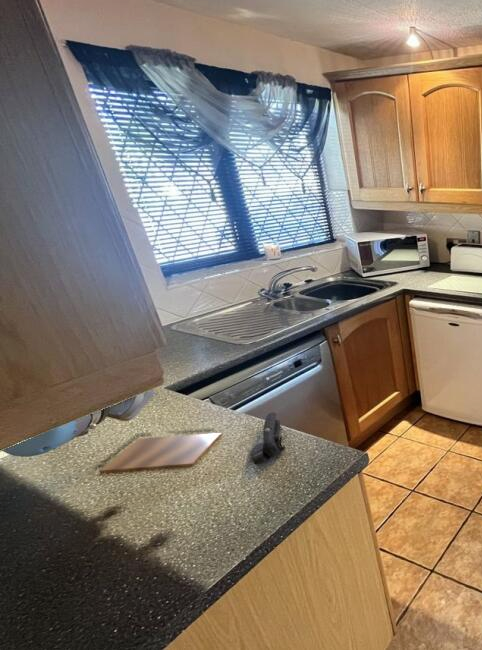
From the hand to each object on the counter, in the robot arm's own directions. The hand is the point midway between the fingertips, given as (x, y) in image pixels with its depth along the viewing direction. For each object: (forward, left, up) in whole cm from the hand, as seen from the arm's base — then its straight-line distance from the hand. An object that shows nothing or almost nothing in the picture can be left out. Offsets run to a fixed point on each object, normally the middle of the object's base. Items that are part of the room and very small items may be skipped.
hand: (119, 393), depth 92 cm
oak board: (+10, -6, -14) cm, 18 cm away
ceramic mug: (+7, -3, -2) cm, 8 cm away
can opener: (+35, -5, -14) cm, 38 cm away
